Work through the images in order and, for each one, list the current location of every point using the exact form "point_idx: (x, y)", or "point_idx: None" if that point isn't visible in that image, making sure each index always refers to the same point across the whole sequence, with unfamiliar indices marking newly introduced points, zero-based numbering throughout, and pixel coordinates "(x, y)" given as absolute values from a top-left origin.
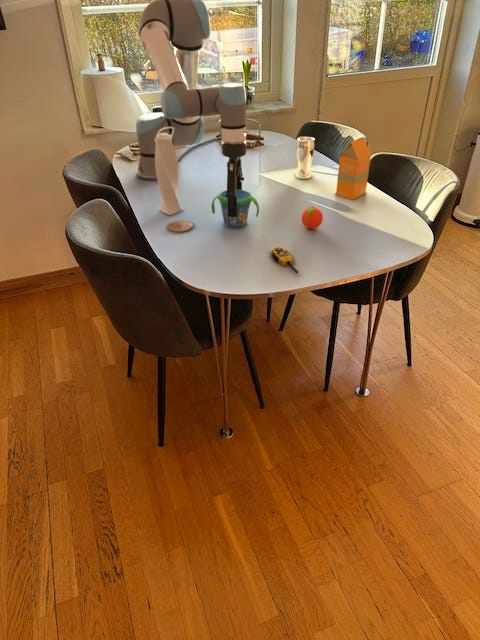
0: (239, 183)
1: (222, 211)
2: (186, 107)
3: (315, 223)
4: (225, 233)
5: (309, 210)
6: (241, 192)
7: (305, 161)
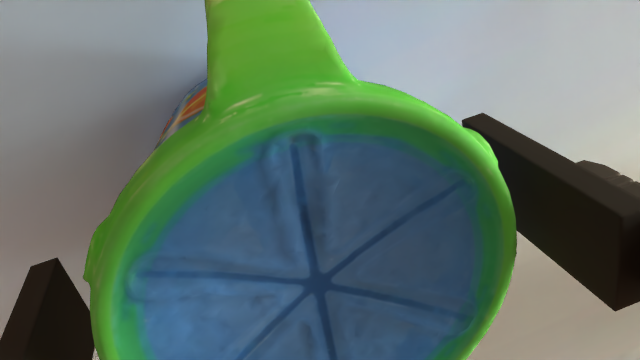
0: (601, 276)
1: (179, 117)
2: None
3: None
4: (56, 153)
5: None
6: (452, 299)
7: None
